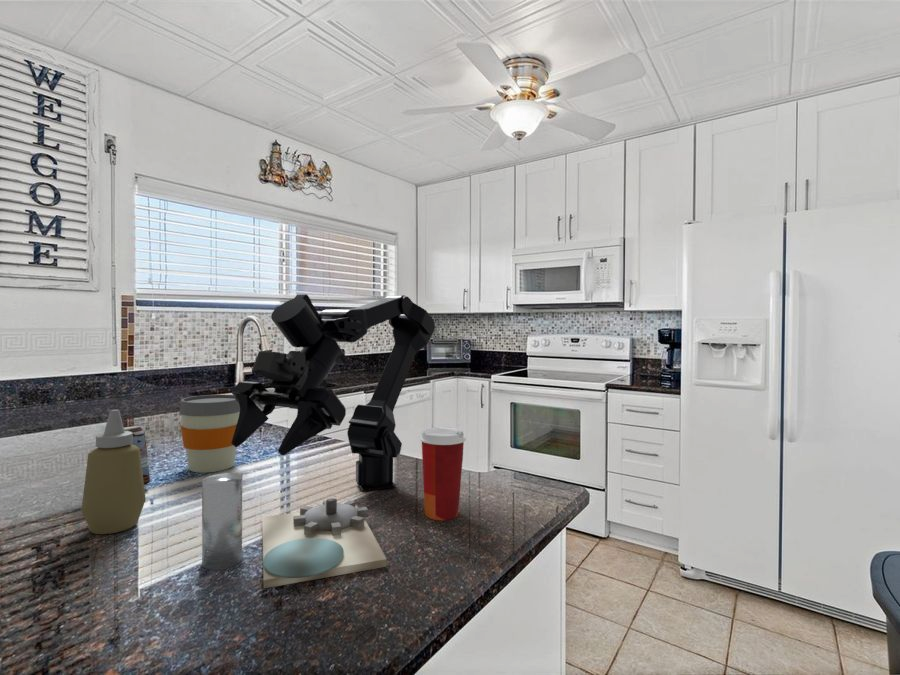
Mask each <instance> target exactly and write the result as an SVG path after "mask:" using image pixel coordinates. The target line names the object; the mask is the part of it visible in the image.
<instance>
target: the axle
mask: <svg viewBox="0 0 900 675" xmlns="http://www.w3.org/2000/svg"><path fill="white" fill-rule="evenodd" d="M243 476H244V475H242V474H240V473H236V472H235V473H234V472H226V473H225V472H223V473H217V474H213V475H209V476H206V477H205V478H203V479H202V481H201V488H202V491H201V492H202V493H201V494H202V495H201V499H202V500H201V502H202V503H201V504H202V505H201V506H202V507H201V510H202V512H201V516H202V517H201V567H202V568H203V569H204V570H208V571H220V570H225V569H228V568H232V567H234V566H237V564H239V563H241V561H242V559H243V487H244V486H243V482H244V481H243Z"/></svg>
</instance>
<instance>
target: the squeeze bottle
mask: <svg viewBox="0 0 900 675" xmlns="http://www.w3.org/2000/svg"><path fill="white" fill-rule="evenodd" d="M122 419H123V418H122V416H121V412H120V409H110V410H109V413H108V417H107V421H106V425H105V428H104V432H103V433H99V434H97V435H95V447H96V448H94V449H92V450H91V451H89V452H88V454H87V461H86V470H85V478H84V487H83V493H82V494H83V495H82V504H81V512H82V515H83V517H84V520H85V522H86V524H87V527H88V528H89V531H90V533H92V534H95V535H108V534H115V533H120V532H123V531H127V530H129V529H131V528H133V527H135V526H136V525H137V524H138V523H139V520H140V516H141V513H142V511H143V509H144V506H145V503H146V500H147V498H146V490H145V489H146V488H145V487H144V481H143V472H142V464H141V455H140V449H139V447H137V446H136V445H132V444H131V443H133V433H132V432H130V431H125V430H124V428H125V427H124V422H123V420H122Z"/></svg>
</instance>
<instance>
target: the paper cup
mask: <svg viewBox="0 0 900 675" xmlns="http://www.w3.org/2000/svg"><path fill="white" fill-rule="evenodd" d="M418 440H419V441H420V442H421V456H422V457H421V460H422V480H423V481H422V482H423V484H422V485H423V500H424V501H423V504H424V516H425V517H426V518H427V519H430V520H433V521H441V522H443V521H445V522H446V521H451V520H453V519H456V518H457V517H458V515H459V508H460V494H461V485H462V484H461V482H462V473H463V472H462V470H463V460H464V443H465V441H466V437H465V436H464V432H463V430H461V429H459V428H455V427H454V428H453V427H444V426H442V427H441V426H440V427H430V428H425V429H424V430H423V431H422V432H421V436H419V437H418Z"/></svg>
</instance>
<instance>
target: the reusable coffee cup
mask: <svg viewBox="0 0 900 675" xmlns="http://www.w3.org/2000/svg"><path fill="white" fill-rule="evenodd" d="M179 405H180V406H179V415H181V421H182V423H181V424H182V425H180V432H181V438H182V444H183V448H184V449H185V451H186V458H187V465H188V470H189V471H190V472H194V473H213V472H221V471H225V470H228V469H230V468H232V467H233V466H235V461H236V460H235V459H236V454H237V448H238V447H234V446H233V445H232V443H231V442H232V439H233V435H234V432H235V429H236V425H237V422H238V418H239V413H240V406H239V403H238V402H237V401H236V399H235V396H234V395H233V394H205V395H195V396H188V397H183V398H181V400H180V404H179Z"/></svg>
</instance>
